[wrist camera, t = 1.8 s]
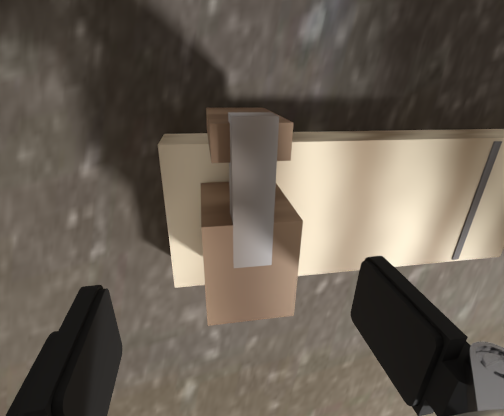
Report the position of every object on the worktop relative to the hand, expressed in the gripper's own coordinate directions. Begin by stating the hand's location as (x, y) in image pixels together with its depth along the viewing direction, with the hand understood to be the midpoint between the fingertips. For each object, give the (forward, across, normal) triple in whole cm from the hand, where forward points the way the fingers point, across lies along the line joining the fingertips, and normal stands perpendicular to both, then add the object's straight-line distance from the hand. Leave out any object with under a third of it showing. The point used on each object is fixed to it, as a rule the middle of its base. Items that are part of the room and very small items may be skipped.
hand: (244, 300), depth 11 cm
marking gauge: (+8, -1, -2) cm, 8 cm away
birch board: (+10, -9, 0) cm, 13 cm away
